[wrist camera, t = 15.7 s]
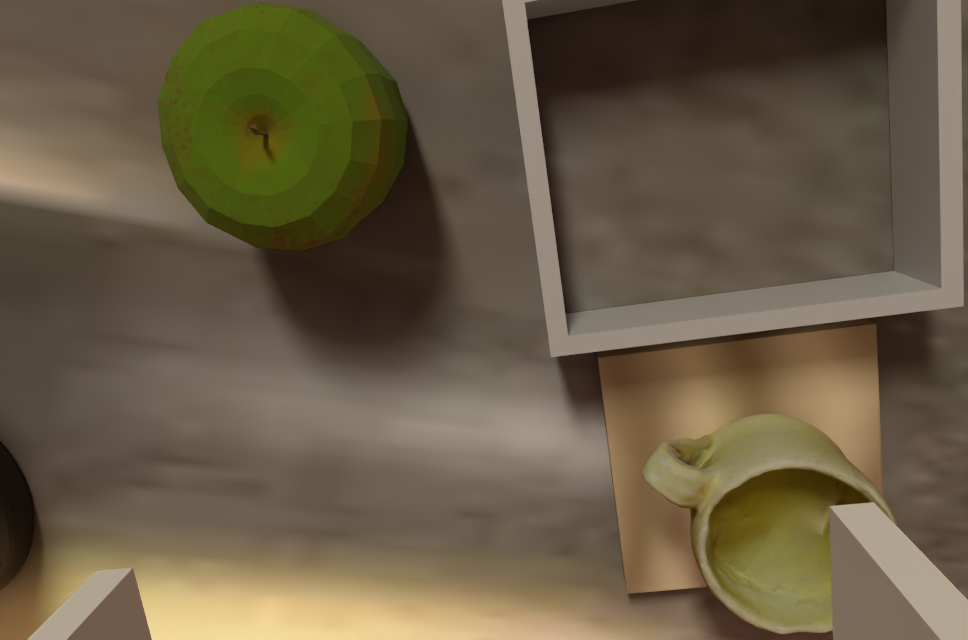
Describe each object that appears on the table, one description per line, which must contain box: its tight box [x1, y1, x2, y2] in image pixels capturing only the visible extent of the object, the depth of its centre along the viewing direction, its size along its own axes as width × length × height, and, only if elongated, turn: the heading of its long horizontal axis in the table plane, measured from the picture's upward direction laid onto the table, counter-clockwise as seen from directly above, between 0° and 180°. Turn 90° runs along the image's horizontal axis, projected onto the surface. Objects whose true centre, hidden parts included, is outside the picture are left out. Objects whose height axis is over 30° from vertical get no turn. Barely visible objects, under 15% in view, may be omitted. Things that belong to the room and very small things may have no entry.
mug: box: [642, 414, 898, 634], centre depth 39 cm, size 12×10×10 cm
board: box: [597, 319, 883, 594], centre depth 43 cm, size 15×15×1 cm
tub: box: [502, 0, 964, 357], centre depth 38 cm, size 20×18×5 cm
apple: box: [158, 2, 408, 251], centre depth 36 cm, size 11×11×11 cm
